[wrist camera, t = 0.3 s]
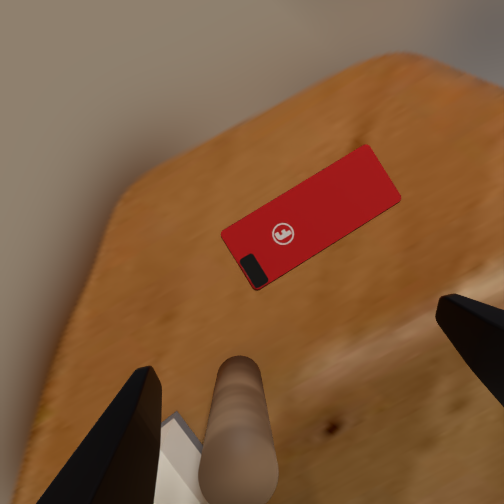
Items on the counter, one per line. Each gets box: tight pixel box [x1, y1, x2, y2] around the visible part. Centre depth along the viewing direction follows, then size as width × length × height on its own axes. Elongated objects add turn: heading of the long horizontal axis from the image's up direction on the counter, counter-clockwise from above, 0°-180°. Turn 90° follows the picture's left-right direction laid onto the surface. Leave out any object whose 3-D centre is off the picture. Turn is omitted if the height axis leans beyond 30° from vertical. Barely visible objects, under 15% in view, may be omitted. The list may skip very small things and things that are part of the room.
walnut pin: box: [198, 356, 279, 504], centre depth 17 cm, size 4×4×10 cm
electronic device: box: [221, 144, 401, 290], centre depth 23 cm, size 6×1×15 cm
